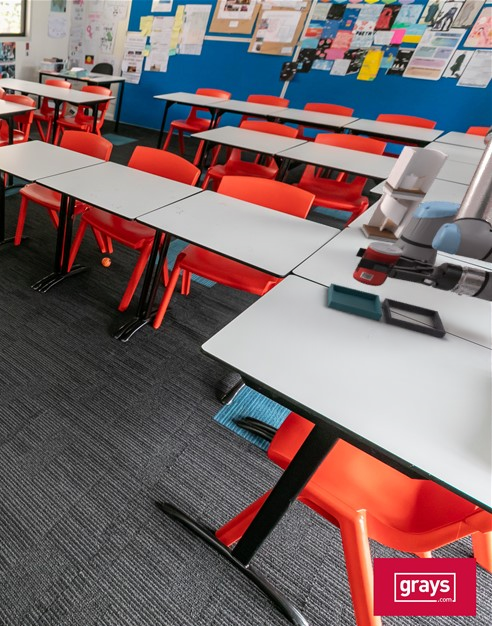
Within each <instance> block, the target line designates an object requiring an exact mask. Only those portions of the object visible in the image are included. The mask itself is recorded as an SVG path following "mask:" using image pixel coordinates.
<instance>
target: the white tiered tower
mask: <svg viewBox="0 0 492 626" xmlns="http://www.w3.org/2000/svg"><path fill="white" fill-rule="evenodd" d="M448 158H449V155H448V154H447V153H445V152H442V151H441V150H439V149H437V148H427V147H418V146H409V145H408V146H407V145H405V146H404V147H403V149H402V150H401V153H400V154H399V156H398V157H397V160H396V162H395V164H394V166H393V167H392V169H391V171H390V173H389V176H388V177H387V179H386V180H385V182H384V185H383V187H382V188H381V190H383V193H382V195H381V197H380V198H379V201H378V203H377V204H376V206H375V208H374V209H373V212H372V214H371V215H370V217H369V219H368V221H367V222H366V224H365V223H363V224H362V226H361V228H360V229H361V230H362V232H363V234H364V235H365V237H366V239H371V240H378V241H382V242H383V241H384V242H390V243H395V242H396V241H397V240H398V239H399V238H400V237H401V235H402V233H403V231H404V230H405V228H406V227H407V225H408V223H409V222H410V220H411V218H412V216H413V213H415V211H416V210H417V208H418V207H419V206H420V205H421V204H422V202H423V200H424V199H425V197H426V195H427V193H428V192H429V190H430V189H431V187H432V185H433V183H434V182H435V180H436V179H437V177H438V175H439V173H440V172H441V170H442V168H443V167H444V165H445V163H446V161H447V160H448Z"/></svg>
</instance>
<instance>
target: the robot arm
mask: <svg viewBox="0 0 492 626" xmlns="http://www.w3.org/2000/svg"><path fill="white" fill-rule="evenodd" d="M483 144H484V146H485V148H484V151H483V153H482V155H481V157H480V159H479V162H478V163H477V166H476V168H475V171H474V173H473V176H472V178H471V180H470V182H469V184H468V186H467V189H466V192H465V194H464V195H463V198H462V200H461V203H457V202H454V201H453V202H452V201H445V200H430V201H424V202H423V203H422V202H421V204H420V205H419V207H418V208H417V210H416V211H415V213H413V216H412V218H411V220H410V222H409V223H408V225H407V227H406V228H405V230H404V231H403V233H402V235H401V237H400V238H399V239H398V240H397V241H396V242H393V244H392V245H393V246H396V247H398V248H400V249H401V250H402V251H403V252H402V254H401V256H400V258H399V259H398V261H397V263H396V264H395V266H394V264H392V263H391V264H390V265H389V264H388V263H384V262H379V261H375V260H370V259H366V258H362V257H363V255H364V253H365V251H366V249H367V248H364V247H359V249H358V250H357V253H356V254H355V257H356V258H360V260H359V262H358V263H357V265H356V268H357V267H361V268H365V269H369V270H374V271H378V272H382V273H384V272H385V274H386V275H389V276H388V277H387V278H389V279H394V280H400V281H404V282H409V283H415V284H420V285H423V286H427V287H431V288H433V289H436V290H440V291H444V292H449V291H450V293H454V294H457V296H461V297H462V296H466V297H471V298H474V299H480V300H483V301H487V302H491V303H492V271H488V270H484V269H481V268H476V267H472V266H467V265H464V266H462V265H460V264H456V263H451V262H443V263H442V264H440V265H439V266H436V261H437V255H438V251H439V252H442V253H445V254H448V255H452V256H453V255H454V256H459V257H463V258H469V259H473V260H477V261H481V262H485V263H488V264H492V125H491V126H489V128H488V129H487V132H486V134H485V137H484V139H483ZM388 265H389V267H388Z"/></svg>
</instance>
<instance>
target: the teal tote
mask: <svg viewBox="0 0 492 626" xmlns="http://www.w3.org/2000/svg"><path fill="white" fill-rule="evenodd" d="M327 307H328V308H330V309H333V310H338V311H340V312H344V313H348V314H352V315H355V316H360V317H362V318H366V319H369V320H373V321H377V322H379V321H380V320H381V318H382V317H383V314H384V313H383V308H382V303H381V299H380V295H379V294H375V293H371V292H367V291H363V290H360V289H356V288H355V289H354V288H351V287H348V286H344V285H339V284H335V283H330V285H329V287H328V289H327Z"/></svg>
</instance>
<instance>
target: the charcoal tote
mask: <svg viewBox="0 0 492 626" xmlns="http://www.w3.org/2000/svg"><path fill="white" fill-rule="evenodd" d="M381 306H382V311H383V314H384V320H385V323H386V324H387V325H392V326H394V327H395V326H396V327H399V328H403V329H406V330H410V331H413V332H416V333H420V334H424V335H428V336H432V337H436V338H439V339H443V338H444V337H445V335H446V334H447V331H446V329H445V326H444V324H443V322H442V319H441V316H440V314H439V311H437V310H433V309H430V308H425V307H422V306H418V305H414V304H412V303H411V304H410V303H407V302H404V301H399V300H395V299H390V298H387V297H385V298H384V299H383V301H382V303H381ZM391 307H392V308H397V309H400V310H403V311H407V312H412V313H416V314H419V315H423V316H427V317H431V318H432V322H433V324H434V327H435V328H433V327H429V326H425V325H422V324H417V323H414V322H411V321H407V320H403V319H400V318H395V317H392V312H391Z"/></svg>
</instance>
